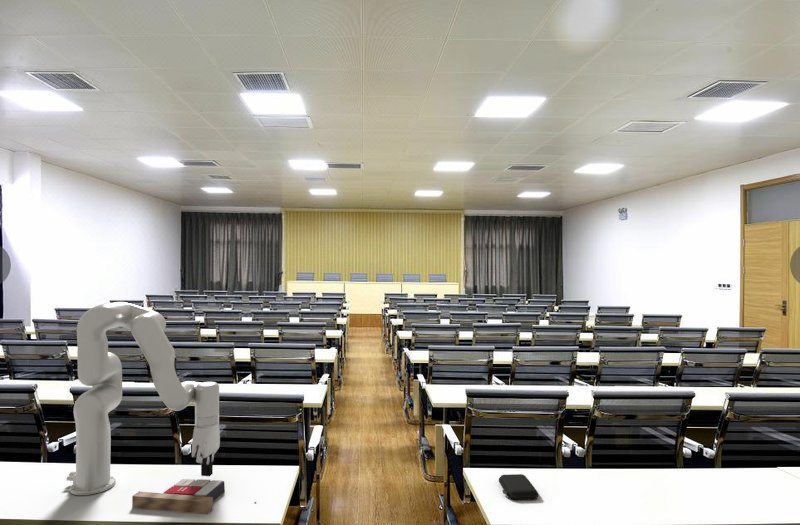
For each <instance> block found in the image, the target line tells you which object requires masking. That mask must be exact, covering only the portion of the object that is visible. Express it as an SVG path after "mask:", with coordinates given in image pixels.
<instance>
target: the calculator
mask: <svg viewBox="0 0 800 525" xmlns="http://www.w3.org/2000/svg"><path fill="white" fill-rule="evenodd" d="M225 488H226V486H225V481H224V480H221V479H220V480H215V479H212V480H211V479H195V478H194V479H193V478H192V479H191V478H183V479H180V480H179V481H178V482H176V483H175V484H174V485H173V486H170V487H169V488H168V489H166V490H165V491H163V493H165V494H178V495H191V496H204V497H213V503H214V502H215V501H216V500H217V499H218V498H219V497H221V496H222V495H223V494H224V493H225V491H226V489H225Z"/></svg>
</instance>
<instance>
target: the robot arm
mask: <svg viewBox="0 0 800 525" xmlns="http://www.w3.org/2000/svg"><path fill="white" fill-rule="evenodd" d="M166 322H167V321H166V319H165V317H164V316H163V315H162V314H161V313H159V312H157V311H154V310H151V309H148V308H144V307H142V306H139V305H136V304H132V303H128V302H125V301H116V302H115V301H114V302H108V303H102V304H98V305H95V306H93V307H91V308H89V309H88V310H87V311H85V312H84V313H83V314H82V315H81V317H80V318H79V320H78V322H77V326H76V338H77V339H76V340H77V341H76V342H77V351H76V352H77V377H78V381H79V382H80V383H81V384H82V385H84V386H87V387H92V388H91V389H89V390H87V391H85V392H83V393H82V394H80V396H78V398H76V400H75V403H74V404H73V418H74V422H75V445H76V446H75V447H76V448H75V449H76V450H75V471H70V472H69V474H68V475H67V477H66V481H70V482H71V481H72V485H71V486H70V487H69V493H70V494H71V495H74V496H89V495H95V494H99V493H102V492H105V491H107V490H109V489H111V488H113V487H114V486H115V484H116V477H114V476H111V445H112V444H111V442H112V441H111V440H112V438H111V436H112V435H111V423H110V419H109V413H110V412H111V411H113V410H115V409H117V407H118V406H119V405H120V404H121V401H122V399H123V368H122V365H123V364H122V361H121V360H120V358H119V356H118V355H117V354H115V353H113V352H111V351H109V341H108V337H107V333H106V332H107V331H108V330H112V329H117V328H121V327H122V328H125V329H128V330H130V333H131V335H132V337H133V338H134V340H135V342H136V343H137V345H138V347H139V348H140V350H141V352H142V353H143V355H144V357H145V359H146V360H147V363H148V364H149V369H150V370H149V371H150V374H151V379H152V382H153V385H154V387H155V390H156V392H157V393H158V395H159V398H160V399H161V401H162V402H163V403H164V405H165V406H166V407H167V408H168V409H169V410H171V411H174V412H175V411H177V412H179V411H182V410H184V409H186V408H187V407H188V406H190V404H193V403H194V429H193V434H192V440H191V441H192V442H191V457H192V458H196V460H195V463H198V464H200V467H201V468H200V474H201V475H200V476H202V477H210V476H212V475H213V472H214V471H213V468H214V466H213V462H214V460H215V459H214V458H215V454H216V453H217V452H218V450H219V448H220V446H221V444H220V443H221V435H220V434H221V433H220V385H219V383H217V382H216V381H203V382H199V381H193V380H191V381H190V380H186V381H181V380H180V379H179V377H178V375H177V372H176V368H175V360H176V359H175V358H176V352H175V351H176V350H175V348H174V347H173V345H172V344H171V342H170V340H169V338H168V337H167V335H166V333H165V330H166V327H167V323H166Z"/></svg>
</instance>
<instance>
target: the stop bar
mask: <svg viewBox="0 0 800 525" xmlns="http://www.w3.org/2000/svg"><path fill="white" fill-rule="evenodd" d="M131 497H132V499H131V500H132V502H131V503H132V507H131V508H133V509H142V510H153V511H165V512H180V513H189V514H191V513H192V514H202V515H208V514H209V513H210V512H211V511H212V510H214V508H213V503H214V502H213V497H204V496H191V495H178V494H165V493H164V492H149V491H137V492H135V494H133V495H132V496H131Z"/></svg>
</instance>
